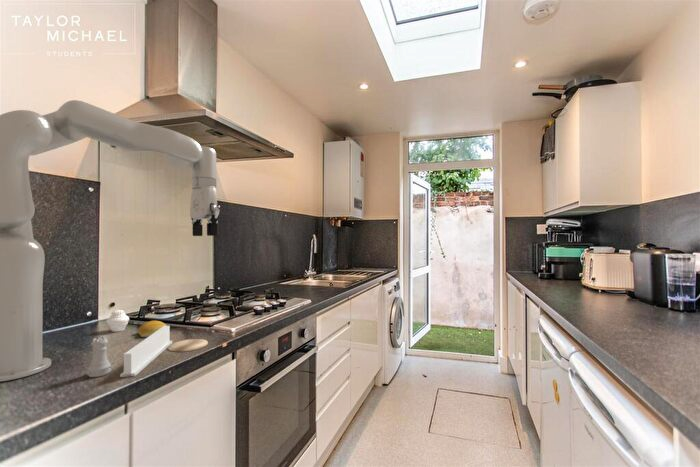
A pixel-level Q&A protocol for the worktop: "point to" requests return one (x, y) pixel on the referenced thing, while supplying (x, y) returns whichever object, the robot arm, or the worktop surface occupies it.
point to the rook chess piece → (99, 358)
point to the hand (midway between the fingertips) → (204, 235)
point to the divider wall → (146, 352)
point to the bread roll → (150, 328)
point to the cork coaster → (188, 345)
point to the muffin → (118, 321)
